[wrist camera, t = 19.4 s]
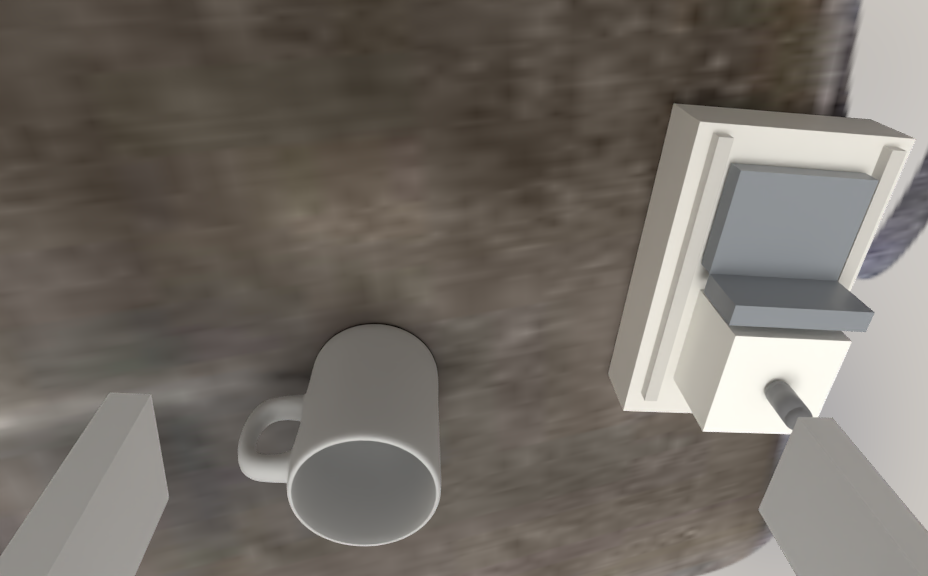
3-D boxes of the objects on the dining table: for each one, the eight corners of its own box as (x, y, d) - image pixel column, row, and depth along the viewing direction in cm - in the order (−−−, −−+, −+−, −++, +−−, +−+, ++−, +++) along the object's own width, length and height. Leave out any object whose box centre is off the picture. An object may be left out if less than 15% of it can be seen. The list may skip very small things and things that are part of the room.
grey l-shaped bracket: (731, 163, 35) (773, 194, 31) (865, 172, 35) (923, 205, 31) (695, 282, 38) (729, 325, 34) (818, 289, 39) (865, 332, 35)
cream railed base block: (673, 103, 37) (705, 125, 33) (870, 119, 38) (926, 143, 34) (607, 374, 46) (626, 418, 42) (768, 380, 47) (802, 424, 43)
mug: (436, 320, 43) (441, 432, 34) (438, 420, 47) (443, 545, 38) (253, 325, 43) (204, 440, 33) (271, 425, 47) (232, 554, 37)
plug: (676, 259, 42) (763, 372, 31) (772, 264, 43) (889, 377, 32) (653, 343, 45) (725, 472, 35) (743, 347, 46) (841, 475, 35)
